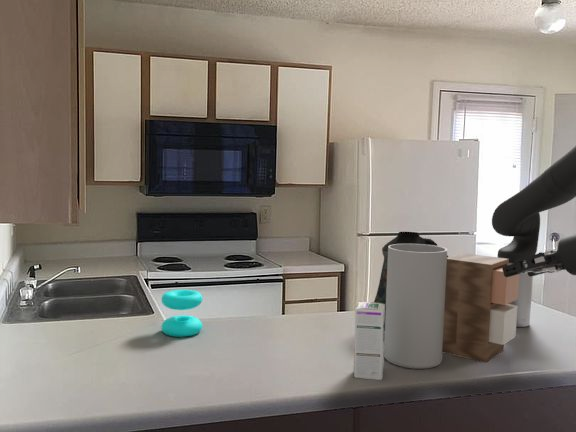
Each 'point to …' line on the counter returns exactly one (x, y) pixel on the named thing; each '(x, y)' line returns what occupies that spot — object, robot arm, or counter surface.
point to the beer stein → (400, 239)
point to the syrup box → (369, 340)
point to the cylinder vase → (415, 305)
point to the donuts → (182, 323)
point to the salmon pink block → (504, 287)
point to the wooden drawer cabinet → (469, 306)
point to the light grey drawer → (502, 323)
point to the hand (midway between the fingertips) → (516, 272)
